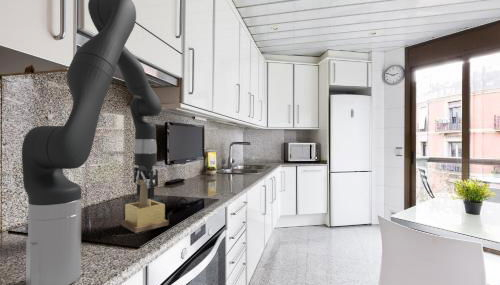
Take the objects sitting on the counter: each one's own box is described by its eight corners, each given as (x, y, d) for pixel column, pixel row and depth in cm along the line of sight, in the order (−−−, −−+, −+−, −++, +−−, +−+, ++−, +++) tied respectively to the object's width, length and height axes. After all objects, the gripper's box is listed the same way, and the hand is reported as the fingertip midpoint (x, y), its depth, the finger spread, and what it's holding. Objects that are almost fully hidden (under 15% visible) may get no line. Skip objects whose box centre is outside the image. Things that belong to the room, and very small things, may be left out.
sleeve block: (135, 232, 88) (135, 210, 88) (121, 225, 96) (121, 204, 96) (168, 224, 97) (168, 204, 97) (152, 218, 105) (153, 199, 105)
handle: (144, 224, 93) (145, 180, 93) (133, 221, 96) (133, 179, 96) (156, 220, 97) (156, 179, 97) (145, 217, 100) (145, 177, 100)
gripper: (126, 151, 99) (126, 195, 99) (144, 152, 89) (143, 201, 89) (146, 151, 104) (146, 193, 104) (165, 152, 94) (164, 198, 94)
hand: (145, 197), depth 96 cm, fingers open, 8 cm apart
